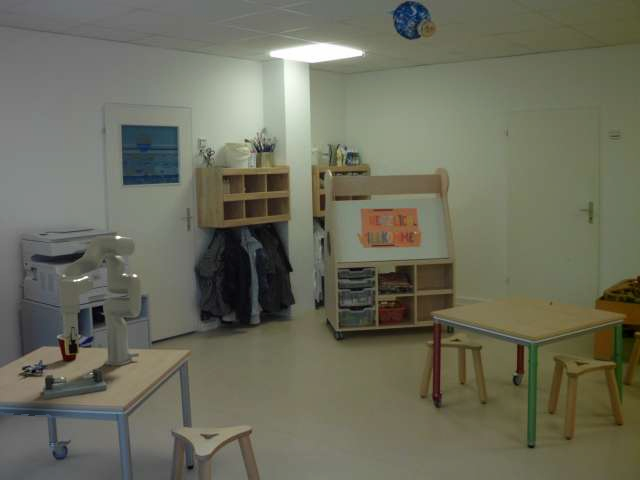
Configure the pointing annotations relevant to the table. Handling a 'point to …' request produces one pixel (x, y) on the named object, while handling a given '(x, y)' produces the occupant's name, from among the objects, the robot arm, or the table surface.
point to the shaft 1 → (53, 381)
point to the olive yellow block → (68, 345)
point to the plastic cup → (62, 348)
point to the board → (74, 388)
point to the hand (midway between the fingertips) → (72, 351)
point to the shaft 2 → (94, 375)
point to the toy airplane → (34, 368)
